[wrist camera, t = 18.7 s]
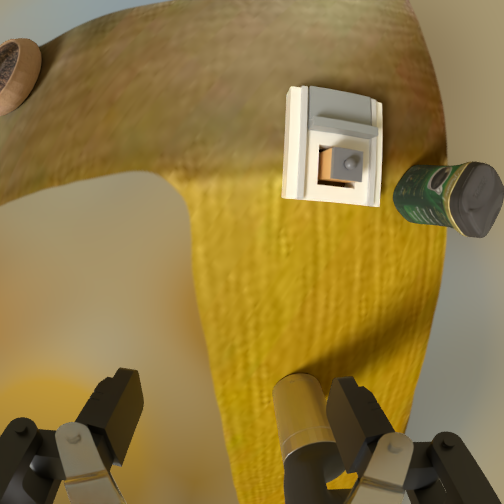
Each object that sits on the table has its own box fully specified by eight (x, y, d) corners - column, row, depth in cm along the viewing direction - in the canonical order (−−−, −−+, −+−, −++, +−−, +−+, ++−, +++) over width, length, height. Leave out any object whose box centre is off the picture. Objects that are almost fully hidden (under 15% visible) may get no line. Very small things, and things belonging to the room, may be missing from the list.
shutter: (368, 139, 36) (378, 135, 33) (308, 129, 35) (313, 124, 32) (368, 98, 34) (377, 92, 31) (309, 87, 34) (314, 79, 31)
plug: (340, 182, 41) (365, 182, 32) (316, 179, 41) (335, 177, 32) (342, 157, 40) (367, 150, 32) (317, 153, 40) (337, 145, 31)
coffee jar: (411, 229, 43) (486, 253, 25) (384, 197, 42) (459, 207, 24) (439, 189, 42) (515, 197, 24) (414, 157, 41) (491, 150, 23)
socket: (368, 205, 42) (381, 207, 38) (281, 197, 41) (286, 198, 37) (371, 109, 39) (384, 101, 34) (286, 94, 38) (291, 84, 33)
